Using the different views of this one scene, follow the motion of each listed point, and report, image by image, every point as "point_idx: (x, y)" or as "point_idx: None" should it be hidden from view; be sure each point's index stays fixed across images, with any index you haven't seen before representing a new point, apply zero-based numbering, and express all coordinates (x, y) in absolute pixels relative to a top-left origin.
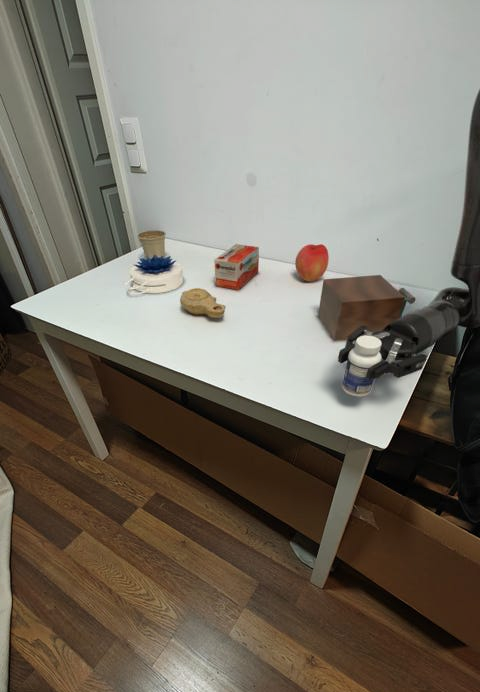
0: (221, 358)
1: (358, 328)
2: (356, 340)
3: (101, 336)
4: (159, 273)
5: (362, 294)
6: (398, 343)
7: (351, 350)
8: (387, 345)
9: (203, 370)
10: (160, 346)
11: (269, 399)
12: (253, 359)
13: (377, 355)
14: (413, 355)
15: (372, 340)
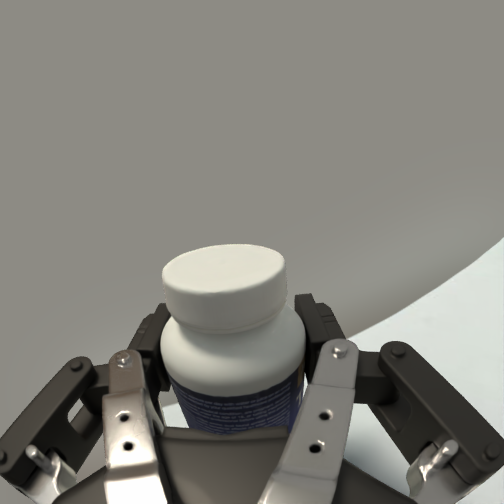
0: (481, 309)
1: (479, 418)
2: (269, 249)
3: (498, 244)
4: None
5: None
6: (124, 472)
7: (287, 304)
8: (202, 465)
9: (451, 290)
10: (495, 269)
11: (361, 338)
12: (484, 344)
13: (176, 329)
14: (39, 452)
15: (215, 271)
